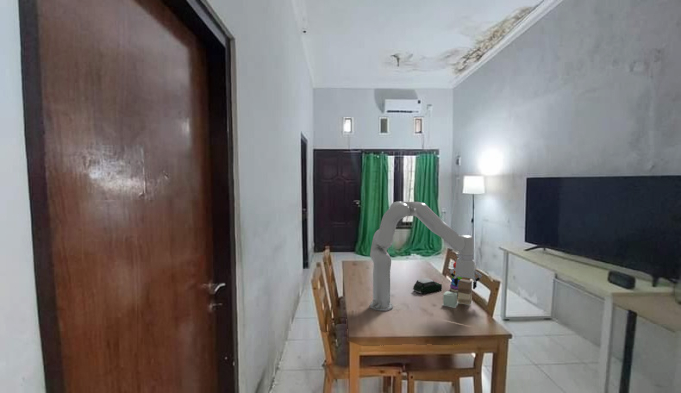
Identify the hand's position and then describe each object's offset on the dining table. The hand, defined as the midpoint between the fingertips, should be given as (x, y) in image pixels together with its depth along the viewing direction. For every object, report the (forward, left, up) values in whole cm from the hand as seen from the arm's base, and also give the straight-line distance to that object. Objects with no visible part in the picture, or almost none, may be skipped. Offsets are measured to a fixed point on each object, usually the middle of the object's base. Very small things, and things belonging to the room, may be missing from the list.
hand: (465, 286), depth 173 cm
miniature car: (+6, +24, -10) cm, 27 cm away
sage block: (-8, +6, -9) cm, 13 cm away
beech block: (0, 0, -9) cm, 9 cm away
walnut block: (0, 0, -3) cm, 3 cm away
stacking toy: (+17, +9, -10) cm, 22 cm away
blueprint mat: (-4, +1, -9) cm, 10 cm away
